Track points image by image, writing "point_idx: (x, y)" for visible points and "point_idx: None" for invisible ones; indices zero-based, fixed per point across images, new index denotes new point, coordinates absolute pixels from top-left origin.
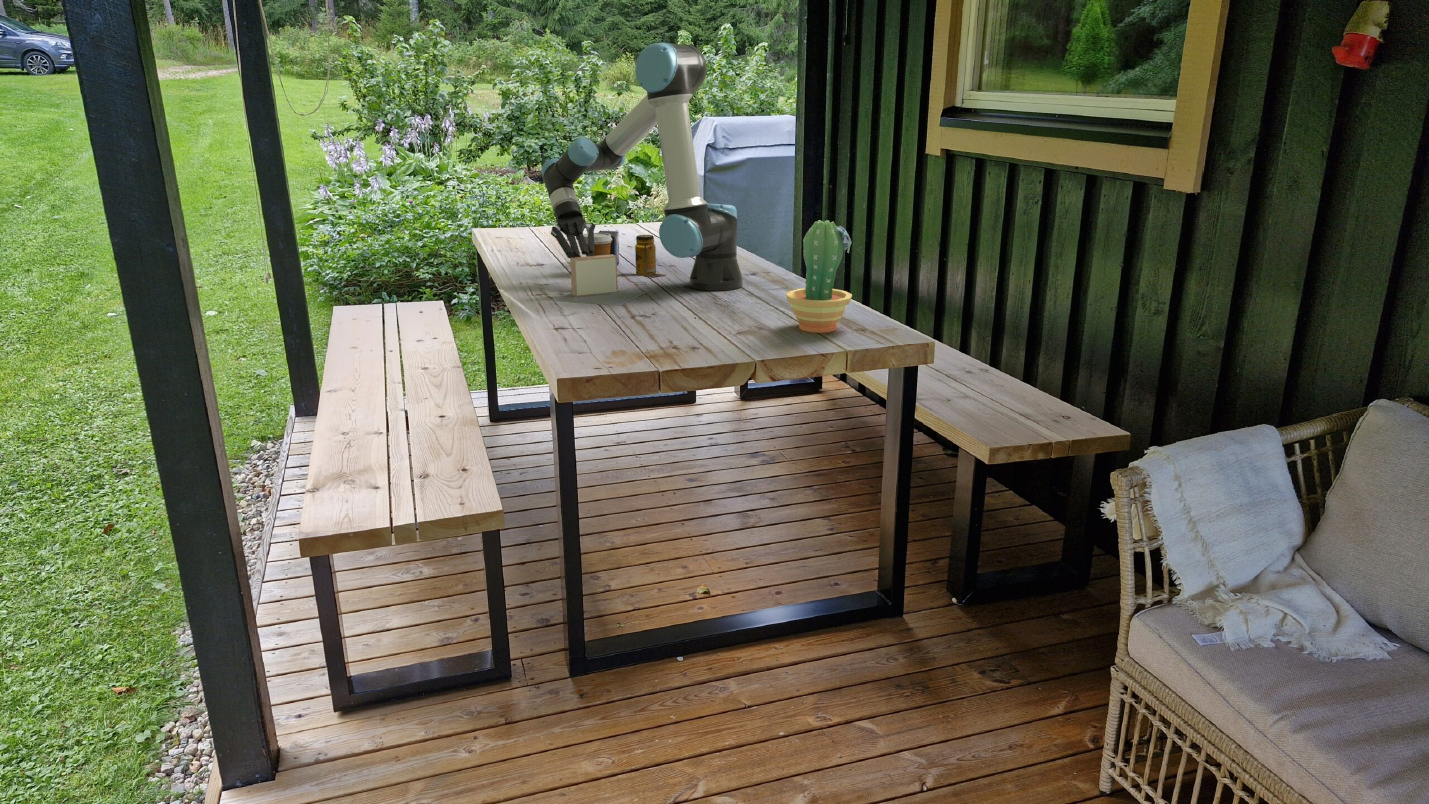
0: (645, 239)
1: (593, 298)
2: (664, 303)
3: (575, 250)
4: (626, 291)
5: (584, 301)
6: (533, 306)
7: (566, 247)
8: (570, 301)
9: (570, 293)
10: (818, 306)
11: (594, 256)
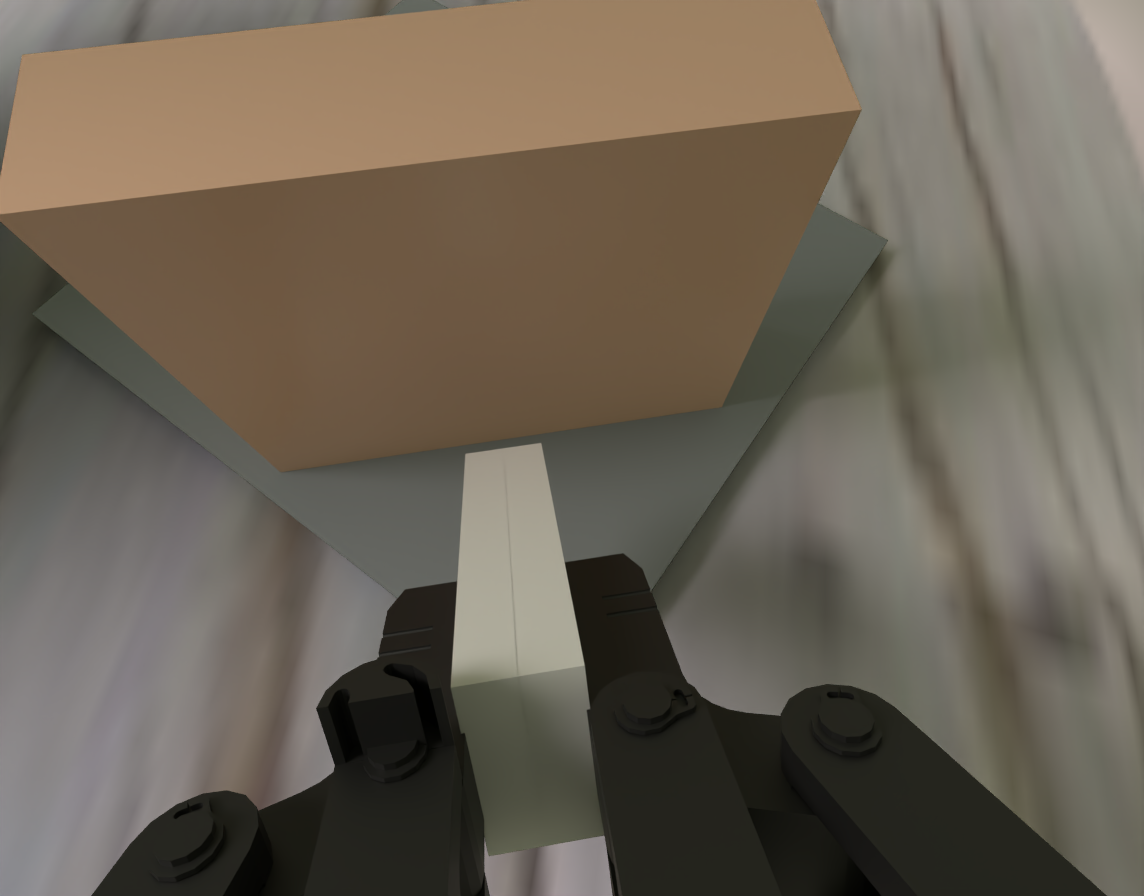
0: None
1: None
2: (79, 43)
3: (716, 773)
4: (181, 395)
5: None
6: (1044, 198)
7: (1048, 850)
8: None
9: (732, 468)
10: None
11: (400, 118)
